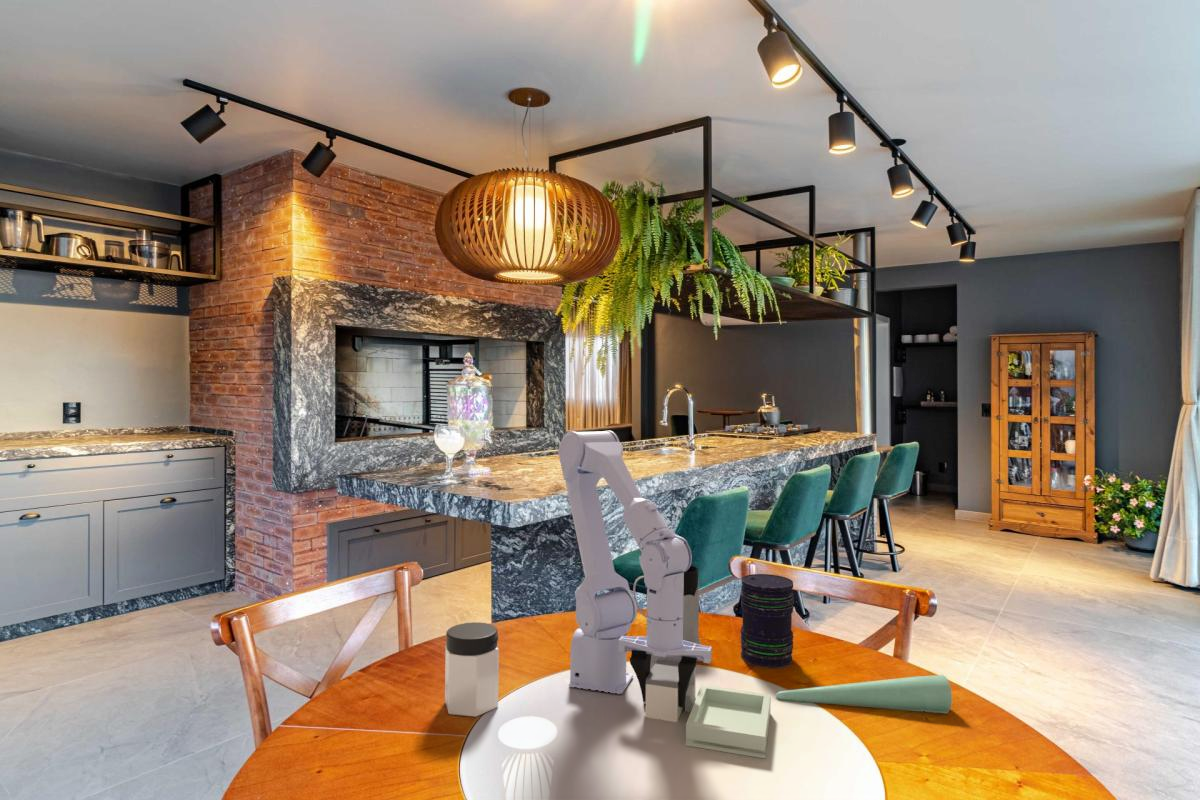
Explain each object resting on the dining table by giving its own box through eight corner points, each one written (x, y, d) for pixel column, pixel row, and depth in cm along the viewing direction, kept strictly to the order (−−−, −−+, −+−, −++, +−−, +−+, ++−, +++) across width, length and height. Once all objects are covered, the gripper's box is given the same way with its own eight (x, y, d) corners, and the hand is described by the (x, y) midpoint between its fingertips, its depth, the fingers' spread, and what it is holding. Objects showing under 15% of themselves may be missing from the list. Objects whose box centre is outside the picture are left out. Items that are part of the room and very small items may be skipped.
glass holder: (707, 647, 134) (707, 572, 134) (638, 652, 131) (639, 575, 131) (691, 632, 142) (692, 562, 142) (627, 636, 139) (628, 564, 139)
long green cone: (773, 660, 114) (939, 669, 111) (773, 692, 114) (938, 702, 111) (778, 673, 109) (952, 683, 106) (778, 707, 109) (952, 718, 106)
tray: (685, 745, 96) (686, 724, 96) (700, 703, 109) (701, 685, 109) (764, 758, 92) (765, 736, 92) (770, 713, 106) (770, 694, 106)
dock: (643, 704, 108) (643, 655, 108) (650, 691, 113) (651, 644, 113) (689, 711, 106) (690, 661, 106) (695, 697, 111) (695, 649, 111)
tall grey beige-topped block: (645, 717, 104) (645, 678, 104) (656, 695, 112) (656, 659, 112) (677, 722, 103) (677, 683, 103) (686, 700, 110) (686, 663, 110)
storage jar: (799, 655, 130) (800, 578, 130) (785, 672, 122) (786, 590, 122) (749, 645, 136) (750, 571, 136) (732, 661, 127) (733, 582, 127)
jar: (502, 713, 105) (503, 636, 105) (449, 721, 102) (450, 642, 102) (491, 689, 113) (492, 619, 113) (442, 696, 110) (443, 624, 110)
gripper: (613, 618, 104) (612, 705, 104) (707, 628, 99) (706, 720, 99) (625, 604, 110) (624, 687, 110) (713, 614, 106) (712, 700, 106)
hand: (663, 701), depth 105 cm, fingers closed on tall grey beige-topped block, 5 cm apart
